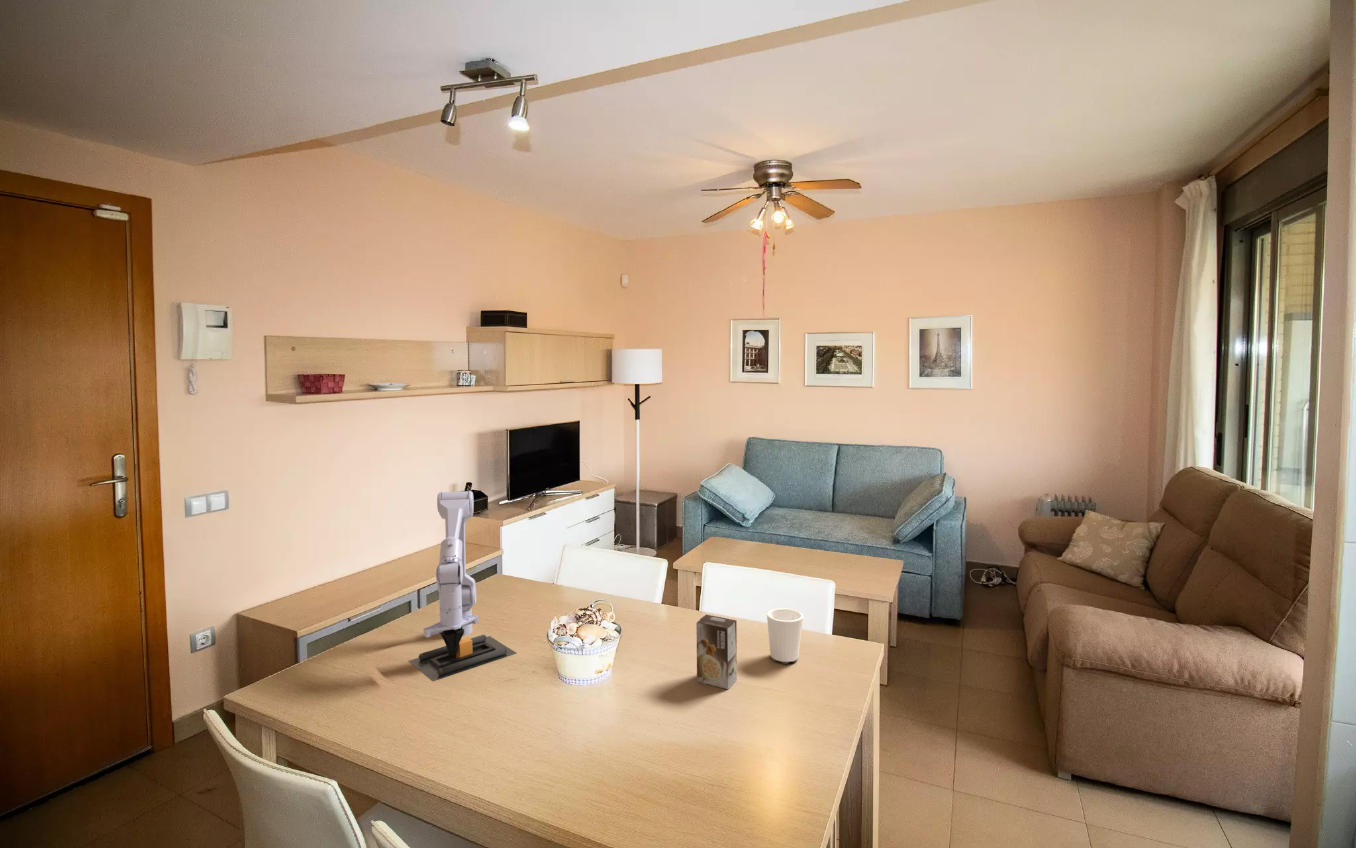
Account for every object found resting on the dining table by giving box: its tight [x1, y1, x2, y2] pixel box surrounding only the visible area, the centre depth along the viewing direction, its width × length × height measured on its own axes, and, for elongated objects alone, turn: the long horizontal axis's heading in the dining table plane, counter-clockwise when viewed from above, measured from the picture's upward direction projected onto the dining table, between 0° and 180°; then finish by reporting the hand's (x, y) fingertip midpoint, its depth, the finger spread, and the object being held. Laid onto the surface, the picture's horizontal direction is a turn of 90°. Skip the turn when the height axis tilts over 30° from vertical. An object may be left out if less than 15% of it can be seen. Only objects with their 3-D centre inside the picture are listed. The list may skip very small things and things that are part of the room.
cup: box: [766, 607, 804, 665], centre depth 187 cm, size 10×10×13 cm
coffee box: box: [695, 614, 738, 690], centre depth 174 cm, size 9×6×16 cm
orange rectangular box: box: [456, 636, 473, 658], centre depth 186 cm, size 3×4×4 cm
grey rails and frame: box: [418, 634, 507, 675], centre depth 186 cm, size 14×20×2 cm
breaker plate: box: [408, 635, 518, 682], centre depth 186 cm, size 16×24×2 cm, turn 133°
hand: (452, 655), depth 183 cm, fingers closed
